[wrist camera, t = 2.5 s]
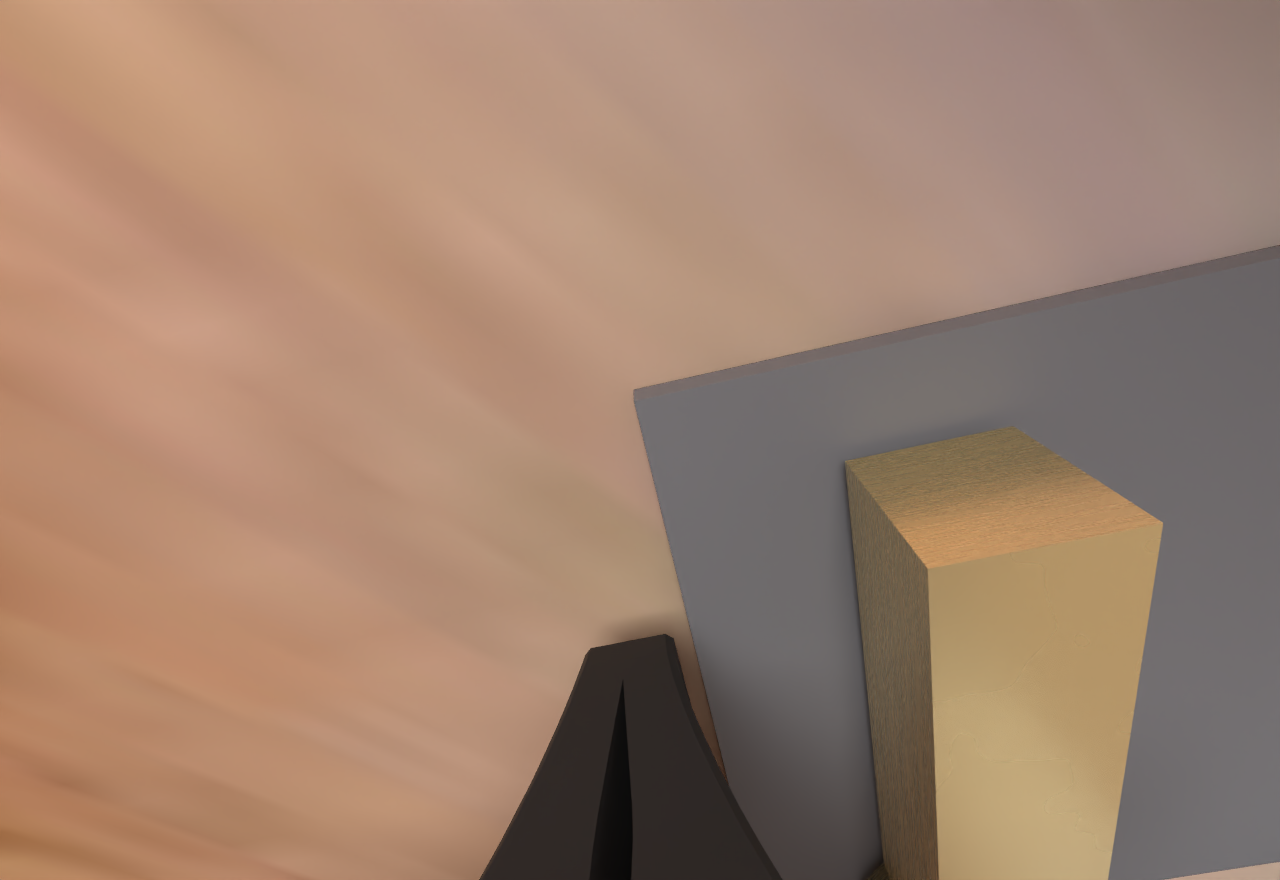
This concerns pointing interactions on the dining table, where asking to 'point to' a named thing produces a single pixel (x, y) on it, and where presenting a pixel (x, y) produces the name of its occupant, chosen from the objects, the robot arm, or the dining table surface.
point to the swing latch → (998, 655)
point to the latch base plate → (1073, 429)
